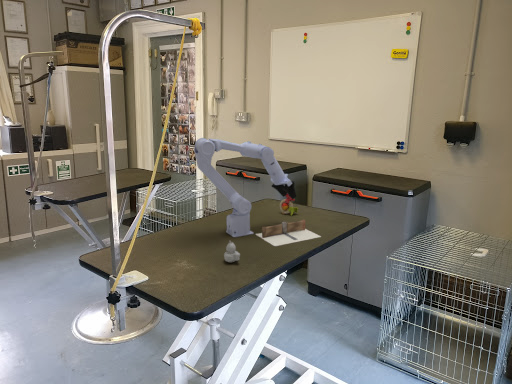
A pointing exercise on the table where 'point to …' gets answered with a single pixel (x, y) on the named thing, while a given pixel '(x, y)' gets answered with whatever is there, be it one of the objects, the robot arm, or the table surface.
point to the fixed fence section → (274, 230)
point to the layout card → (289, 237)
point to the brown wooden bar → (296, 226)
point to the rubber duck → (231, 253)
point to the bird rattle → (286, 208)
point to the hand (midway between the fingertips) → (289, 196)
